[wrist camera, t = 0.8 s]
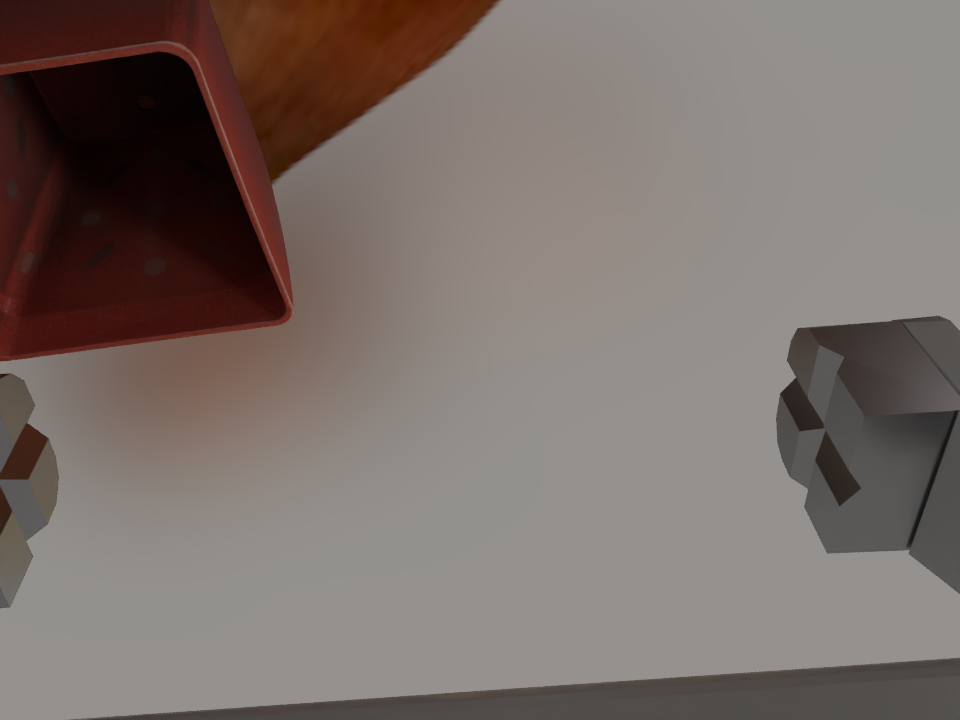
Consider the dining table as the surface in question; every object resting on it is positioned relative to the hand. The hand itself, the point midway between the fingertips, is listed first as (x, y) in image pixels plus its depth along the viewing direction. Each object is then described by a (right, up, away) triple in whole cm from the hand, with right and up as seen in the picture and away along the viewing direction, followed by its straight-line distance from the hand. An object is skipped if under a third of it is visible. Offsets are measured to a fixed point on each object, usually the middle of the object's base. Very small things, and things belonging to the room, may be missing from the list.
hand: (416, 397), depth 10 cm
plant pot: (-22, +20, +48) cm, 57 cm away
